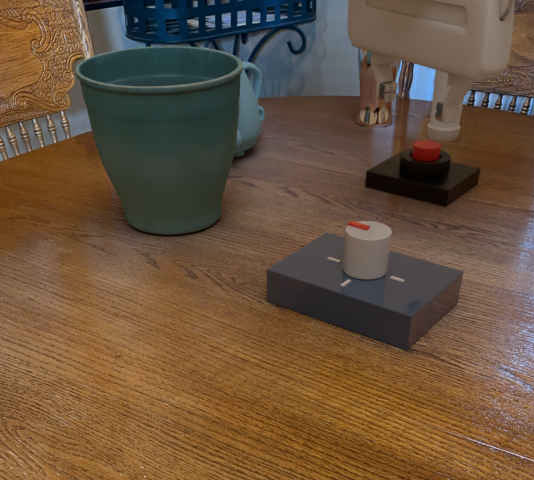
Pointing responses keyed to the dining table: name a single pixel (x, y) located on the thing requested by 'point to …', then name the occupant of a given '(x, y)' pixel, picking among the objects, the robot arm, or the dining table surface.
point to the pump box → (423, 178)
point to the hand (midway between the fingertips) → (414, 110)
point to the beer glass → (372, 93)
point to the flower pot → (165, 131)
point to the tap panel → (365, 292)
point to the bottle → (435, 127)
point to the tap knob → (366, 249)
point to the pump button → (426, 150)
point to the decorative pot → (249, 110)
